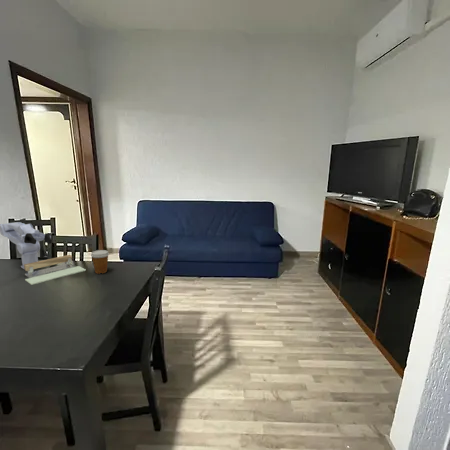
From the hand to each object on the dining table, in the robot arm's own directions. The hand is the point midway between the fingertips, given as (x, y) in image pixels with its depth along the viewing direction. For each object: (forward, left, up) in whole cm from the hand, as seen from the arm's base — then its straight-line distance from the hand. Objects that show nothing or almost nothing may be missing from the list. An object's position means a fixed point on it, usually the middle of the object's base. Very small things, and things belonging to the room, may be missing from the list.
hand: (43, 242), depth 154 cm
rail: (-6, +4, -16) cm, 17 cm away
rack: (-6, +4, -19) cm, 21 cm away
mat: (+4, +4, -19) cm, 20 cm away
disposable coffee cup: (+16, +23, -20) cm, 34 cm away
